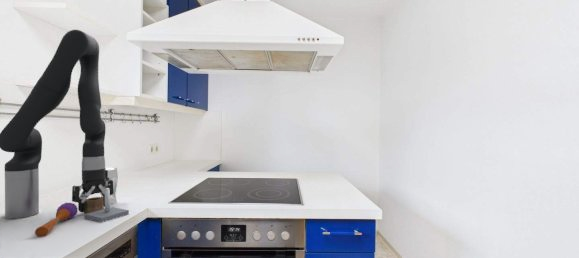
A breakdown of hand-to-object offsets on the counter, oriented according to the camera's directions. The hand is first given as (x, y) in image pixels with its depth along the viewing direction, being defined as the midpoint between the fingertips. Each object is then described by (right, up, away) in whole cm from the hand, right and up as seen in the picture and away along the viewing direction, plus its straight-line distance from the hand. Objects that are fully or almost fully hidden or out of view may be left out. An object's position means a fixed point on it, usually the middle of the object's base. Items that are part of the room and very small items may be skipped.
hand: (93, 209), depth 109 cm
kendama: (-2, -2, -15) cm, 15 cm away
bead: (0, -1, 0) cm, 1 cm away
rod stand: (+9, -1, -5) cm, 10 cm away
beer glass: (-2, -1, +12) cm, 12 cm away
